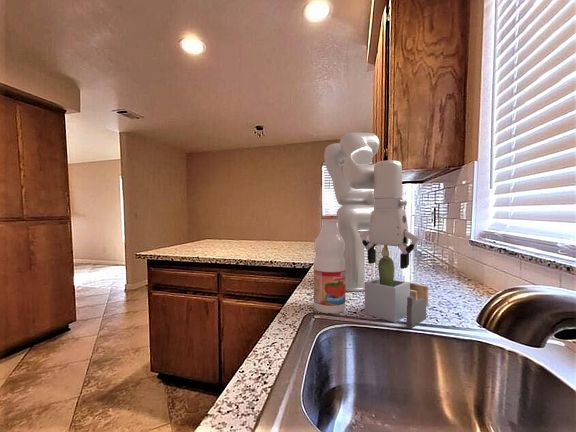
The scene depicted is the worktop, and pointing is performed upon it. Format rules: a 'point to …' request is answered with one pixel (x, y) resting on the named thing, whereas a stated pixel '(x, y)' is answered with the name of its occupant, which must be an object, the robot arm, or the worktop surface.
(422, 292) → the holder
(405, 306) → the grey open box
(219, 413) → the worktop surface
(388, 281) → the vegetable
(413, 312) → the grey square panel
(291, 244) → the worktop surface
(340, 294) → the fruit juice
